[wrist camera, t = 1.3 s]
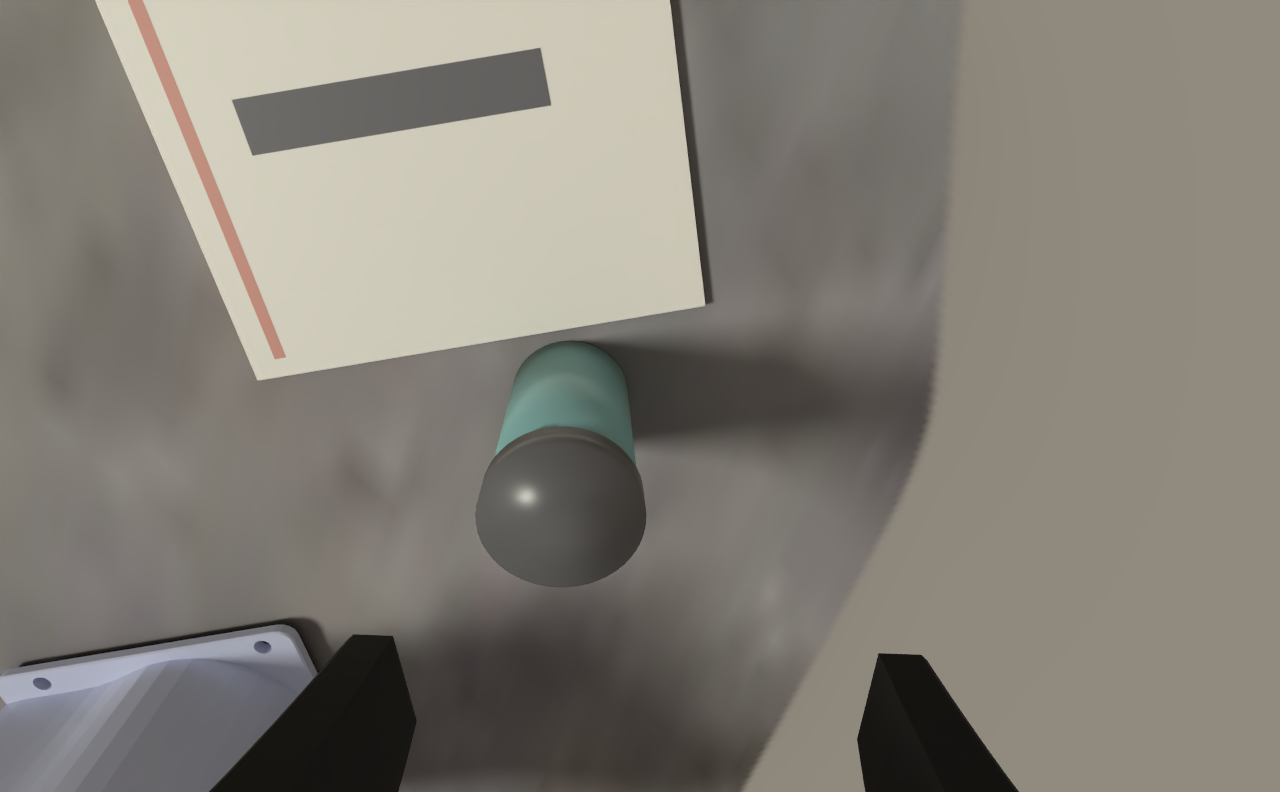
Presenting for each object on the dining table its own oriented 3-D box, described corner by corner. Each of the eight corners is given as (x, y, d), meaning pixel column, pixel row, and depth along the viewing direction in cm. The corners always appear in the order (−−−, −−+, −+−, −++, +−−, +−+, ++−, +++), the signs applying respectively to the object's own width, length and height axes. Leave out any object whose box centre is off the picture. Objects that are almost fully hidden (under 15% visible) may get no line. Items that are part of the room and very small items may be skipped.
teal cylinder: (524, 456, 20) (498, 598, 15) (496, 348, 19) (455, 461, 13) (640, 437, 20) (657, 572, 15) (621, 328, 19) (631, 432, 13)
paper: (261, 377, 18) (257, 380, 18) (22, -184, 13) (14, -188, 13) (704, 303, 18) (705, 306, 18) (635, -289, 13) (635, -294, 13)
